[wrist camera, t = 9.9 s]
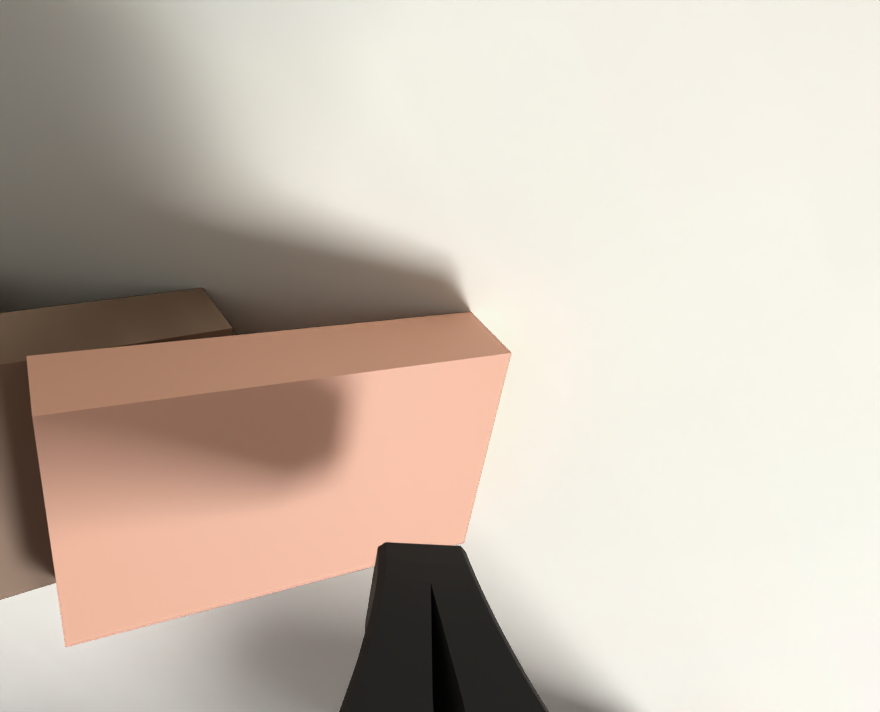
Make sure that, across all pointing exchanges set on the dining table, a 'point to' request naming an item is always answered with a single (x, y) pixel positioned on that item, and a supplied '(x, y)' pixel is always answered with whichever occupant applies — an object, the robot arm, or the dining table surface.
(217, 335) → the domino
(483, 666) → the robot arm
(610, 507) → the dining table surface
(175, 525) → the salmon pink rectangular block
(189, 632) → the dining table surface
